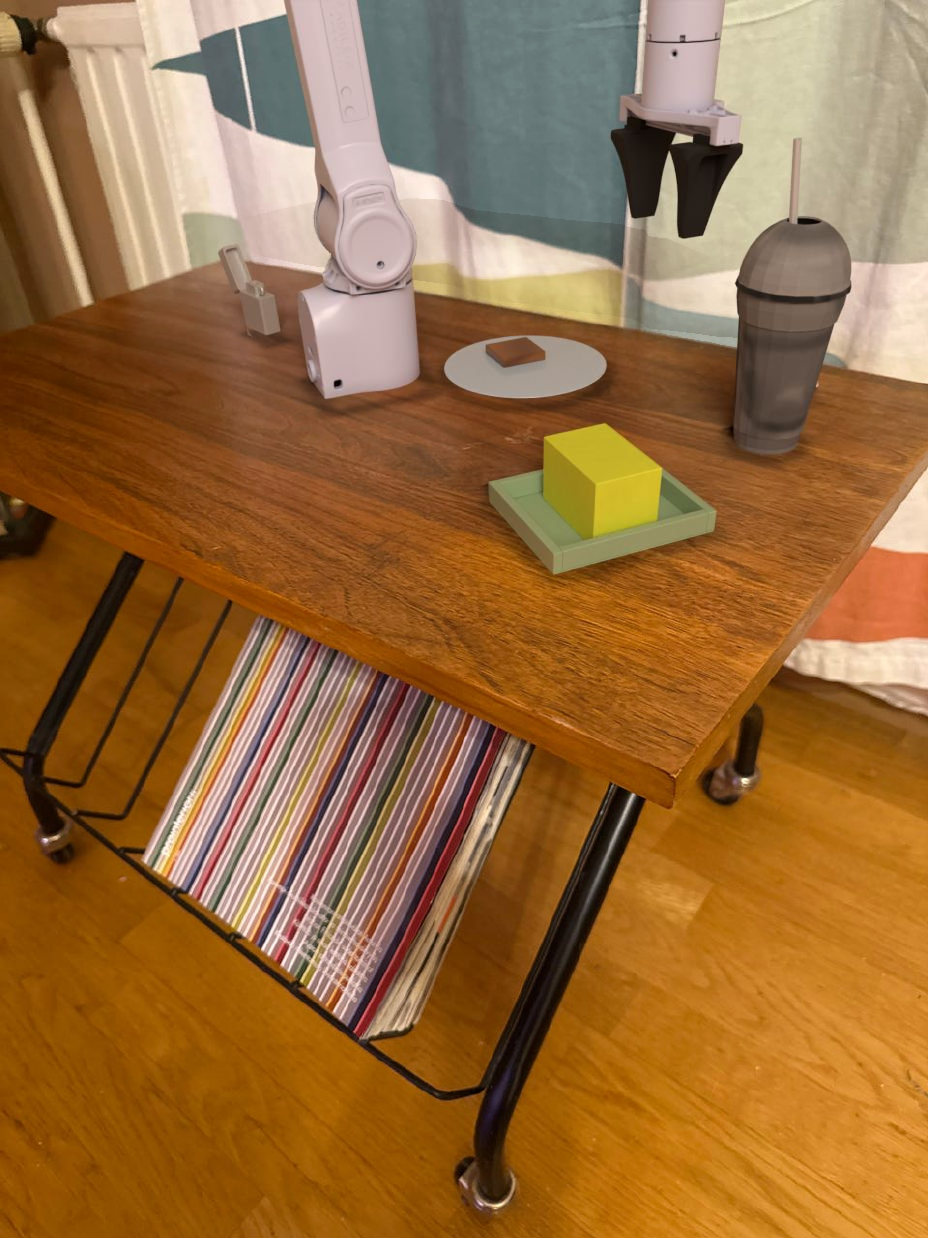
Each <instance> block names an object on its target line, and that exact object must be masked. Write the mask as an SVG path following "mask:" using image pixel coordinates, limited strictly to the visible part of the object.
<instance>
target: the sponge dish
mask: <svg viewBox="0 0 928 1238" xmlns="http://www.w3.org/2000/svg"><path fill="white" fill-rule="evenodd" d="M645 455H646V454H645ZM646 456H648V455H646ZM488 502H489V503H490V505H492V506H493V507H494V509H495V510H496V511H497V512H498V513H499V514H500V516H501V517H502V518H503V520H505V521H506V522H507V524H509V527H511V528H512V530H514V532H515V533H516V534H517V535H518V536H519V537H520V538H521V540H522V541H523V542H524V543H525V544H526V545H527V547H528V548H529V549H530V550H531V551H532V552H533V553H534V555H535V556H536V557H537V558H538V559H539V560H540V561H541V563H542V564H543V565H544V566H545V567H546V568H547V569H548V571H550V573H551V574H552V575H559V574H561V573H565V572H568V571H571V570H575V569H580V568H583V567H586V566H590V565H594V564H598V563H601V562H602V563H603V562H605V561H609V560H613V559H616V558H620V557H625V556H628V555H630V554H635V553H638V552H642V551H646V550H649V549H653V548H657V547H660V546H664V545H668V544H671V543H675V542H678V541H683V540H686V539H690V538H694V537H696V536H700V535H705V534H708V533H712V532H715V527H716V520H717V513H718V510H717V509H715V508H714V507H713V506H711V505H710V504H709V503H708V502H707V501H705V500H704V499H703V498H701V497H700V496H699V495H698V494H696V493H695V492H693V490H691V488H689V487H687V486H686V485H685V484H683V482H682V481H679V480H678V479H677V478H676V477H675V476H674V475H672V474H671V473H669V471H667V470H666V469H664V468H663V467H662V478H661V487H660V497H659V507H658V517H657V521H656V522H652V523H648V524H644V525H641V526H637V527H633V528H629V529H625V530H622V531H618V532H614V533H610V534H606V535H603V536H599V537H595V538H591V539H587V540H584V539H583V538H582V537H581V536H580V535H579V534H578V533H577V532H576V531H575V530H574V529H573V528H572V527H571V526H570V525H569V524H568V523H567V522H566V521H565V520H564V519H563V518H562V517H561V516H560V515H559V514H558V512H557V511H556V510H555V509H554V508H553V507H552V506H551V505H550V504H549V503H548V502H547V501H546V500H545V499H544V498H543V468H541V469H538V470H533V471H529V472H525V473H520V474H517V475H512V476H507V477H504V478H499V479H493V480H490V481H488Z"/></svg>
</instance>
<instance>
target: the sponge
mask: <svg viewBox="0 0 928 1238" xmlns="http://www.w3.org/2000/svg"><path fill="white" fill-rule="evenodd" d="M542 464H543V465H542V466H543V468H542V469H543V498H544V499H545V500H546V501H547V502H548V503H549V504H550V505H551V506H552V507H553V508H554V509H555V510H556V511H557V512H558V514H559V515H560V516H561V517H562V518H563V519H564V520H565V521H566V522H567V523H568V524H569V525H570V526H571V527H572V528H573V529H574V530H575V531H576V532H577V533H578V534H579V535H580V536H581V537H582V538H583V539H584V540H587V539H591V538H595V537H599V536H603V535H606V534H610V533H614V532H618V531H622V530H625V529H629V528H633V527H637V526H641V525H644V524H648V523H652V522H656V521H657V517H658V507H659V497H660V487H661V478H662V468H663V467H662V466H661V465H659V464H658V463H657V462H655V461H654V460H653V459H651V458H650V457H649V456H648V455H647V456H646V453H644V452H643V451H642V450H640V449H639V448H638V447H637V446H635V445H634V444H632V443H631V442H630V441H629V440H627V439H626V437H624V436H622V435H621V433H619V432H617V431H616V430H615V429H614V428H612V427H611V426H610V425H608V424H607V423H605V422H603V423H599V424H594V425H590V426H585V427H582V428H577V429H573V430H572V429H571V430H569V431H563V432H559V433H554V434H551V435H545V436H543V463H542Z"/></svg>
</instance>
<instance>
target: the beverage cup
mask: <svg viewBox="0 0 928 1238" xmlns="http://www.w3.org/2000/svg"><path fill="white" fill-rule="evenodd" d="M802 144H803V137H796V138H795V137H794V138H793V140H792V155H791V175H790V176H791V177H790V191H789V192H790V193H789V214H788V217H787V218H784V219H781V220H778V221H777V222H775V223H773V224H771V225H769V226H768V227H767V228H766V229H764V230H763V231H762V232H761V233H759V235H758V236H757V237H756V238H755V239H754V241H753V242H752V243H751V245H750V246H749V248H748V250H747V252H746V253H745V256H744V257H743V260H742V262H741V265H740V267H739V272H738V275H737V277H736V279H735V282H734V285H735V287H736V296H735V298H736V313H737V315H738V323H737V339H736V340H737V341H736V343H737V344H736V357H735V358H736V360H735V374H734V375H735V378H734V393H733V394H734V395H733V396H734V397H733V412H732V413H733V414H732V424H733V427H732V429H733V431H732V433H733V436H732V437H733V438H732V439H733V441H734V443H735V444H736V445H737V446H738V447H739V448H741V449H743V450H744V451H748V452H751V453H754V454H761V455H780V454H786V453H789V452H791V451H794V449H796V448H797V447H798V443H799V440H800V438H801V436H802V435H801V434H802V433H803V431H804V428H805V424H806V422H807V417H808V414H809V411H810V408H811V405H812V402H813V398H814V395H815V392H816V385H817V381H818V382H819V378H820V374H821V370H822V368H823V364H824V361H825V358H826V354H827V350H828V347H829V344H830V342H831V341H830V340H831V338H832V334H833V331H834V327H835V324H836V323H838V321H839V318H840V316H841V313H842V311H843V309H844V307H845V303H846V300H847V295H849V294H850V293H851V291H852V280H851V278H852V257H851V252H850V250H849V247H848V244H847V242H846V240H845V239H844V237H843V235H841V233H840V232H839V231H838V230H837V229H836V228H835V226H833V225H832V224H831V223H829V222H827V221H825V220H823V219H821V218H819V217H815V216H810V215H799V197H800V183H801V182H800V181H801V165H802V164H801V163H802V146H803V145H802Z"/></svg>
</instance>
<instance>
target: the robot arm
mask: <svg viewBox="0 0 928 1238" xmlns="http://www.w3.org/2000/svg"><path fill="white" fill-rule="evenodd" d="M283 3H284V9H285V14H286V17H287V22H288V26H289V31H290V36H291V40H292V46H293V51H294V55H295V61H296V63H297V64H296V66H297V69H298V74H299V80H300V85H301V88H302V93H303V98H304V103H305V107H306V111H307V117H308V121H309V127H310V131H311V137H312V141H313V145H314V177H315V180H316V186H317V197H316V198H317V199H316V202H315V206H314V211H313V226H314V231H315V234H316V237H317V239H318V241H319V243H320V244H321V246H322V247H324V249H325V250H326V251H327V252H328V253H329V254H330V258H328V260H327V263H326V265H325V267H324V271H323V272H322V274H321V275H322V282H321V283H319V284H318V285H315V286H313V287H310V288H309V287H308V288H305V289H302V290H300V291H298V293H297V300H296V301H297V314H298V320H299V327H300V333H301V334H300V335H301V339H302V346H303V347H302V348H303V353H304V359H305V366H306V372H307V376H308V378H309V380H310V382H311V383H313V384H314V386H315V387H316V389H317V390H318V391H319V393H321V396H322V397H323V399H324V400H328V399H334V398H339V397H344V396H349V395H354V394H359V393H368V392H370V393H371V392H382V391H388V390H389V391H390V390H394V389H398V388H402V387H404V386H407V385H410V384H411V383H413V382H414V381H415V380H418V377H419V376H420V374H421V367H420V352H419V340H418V328H417V327H418V326H417V315H416V313H417V312H416V301H415V287H414V276H413V275H414V274H413V268H412V266H413V264H414V262H415V260H416V255H417V250H418V249H417V248H418V240H417V234H416V230H415V227H414V225H413V222H412V221H411V219H410V217H409V216H408V214H407V213H406V212H405V210H404V209H403V207H402V205H401V204H400V201H399V197H398V194H397V190H396V182H395V179H394V176H393V173H392V170H391V167H390V164H389V162H388V159H387V156H386V153H385V151H384V148H383V145H382V141H381V140H382V139H381V135H380V134H381V133H380V129H379V121H378V117H377V111H376V106H375V105H376V104H375V100H374V99H375V98H374V93H373V88H372V81H371V74H370V70H369V63H368V58H367V52H366V46H365V41H364V35H363V28H362V27H363V26H362V24H361V23H362V22H361V16H360V11H359V5H358V0H283ZM725 6H726V0H647V11H646V12H647V13H646V27H645V41H644V54H643V56H644V57H643V69H642V70H643V71H642V85H641V93H631V94H622V95H621V96H620V98H619V99H620V100H619V101H620V102H619V119H618V120H619V121H620V122H623V123H626V124H624V126H623V127H622V128H614V129H611V131H610V140H611V143H612V145H613V146H614V149H615V151H616V153H617V156H618V159H619V162H620V166H621V169H622V173H623V176H624V182H625V188H626V194H627V195H626V196H627V201H628V207H629V212H630V217H631V218H632V219H635V220H637V219H642V218H650V217H655V215H656V212H657V208H658V206H659V200H660V195H661V189H662V188H661V187H662V180H663V174H664V170H665V166H666V162H667V160H668V156H669V155H670V157H671V162H672V165H673V171H674V175H675V183H676V195H677V198H676V199H677V201H676V202H677V203H676V229H677V230H676V231H677V236H678V238H680V239H682V240H685V239H686V240H687V239H691V238H697V237H703V236H704V234H705V232H706V229H707V227H708V223H709V220H710V217H711V215H712V213H713V210H714V207H715V204H716V201H717V199H718V196H719V194H720V191H721V190H722V187H723V185H724V184H725V182H726V179H727V177H729V174H730V173H731V171H732V170H733V168H734V167H735V165H736V164H737V162H738V160H739V159H740V158H741V156H742V155H743V151H744V144H743V143H742V142H739V139H740V132H741V126H742V125H741V124H742V118H743V117H742V114H738V113H735V112H732V111H730V110H728V109H726V108H725V107H724V106H725V100H721V99H717V98H715V93H716V87H717V86H716V85H717V76H718V67H719V58H720V50H721V43H722V42H721V41H722V35H723V34H722V33H723V25H724V17H725V16H724V15H725ZM677 134H679V135H684V136H687V137H691V138H692V141H687V142H686V141H685V142H679V143H673V141H675V140H674V139H675V137H676V135H677ZM336 381H340V385H338V386H335V382H336Z"/></svg>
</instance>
